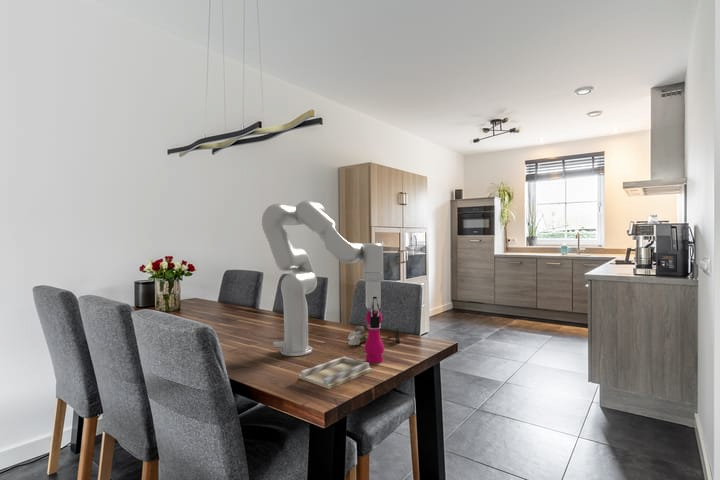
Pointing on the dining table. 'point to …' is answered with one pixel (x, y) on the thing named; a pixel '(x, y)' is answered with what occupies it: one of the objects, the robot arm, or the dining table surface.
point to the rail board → (335, 372)
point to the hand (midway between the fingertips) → (374, 325)
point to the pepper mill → (374, 342)
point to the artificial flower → (360, 335)
